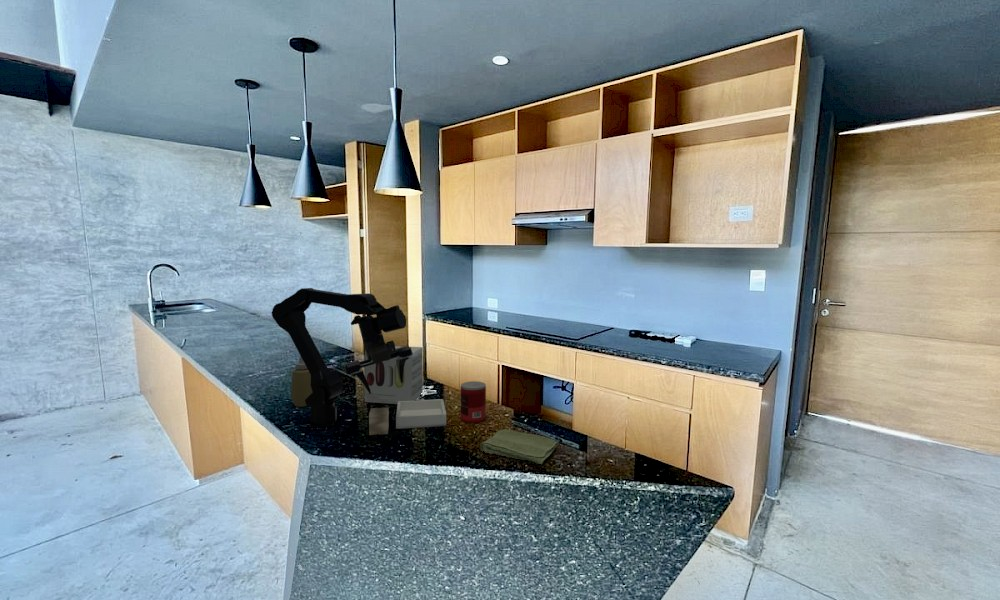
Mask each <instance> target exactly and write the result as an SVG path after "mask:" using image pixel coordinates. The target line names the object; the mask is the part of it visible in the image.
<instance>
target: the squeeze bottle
mask: <svg viewBox="0 0 1000 600" xmlns="http://www.w3.org/2000/svg"><path fill="white" fill-rule="evenodd" d="M291 376H292V377H291V386H290V397H291V400H292V403H293V405H294V407H297V408H303V407H307V405H306V402H305V399H306V398H307V397H308V396H309V395H310V394H311V393H312V389H311V375H310V373H309V371H308V369H307V367H306V365H305V363H304V361H303V359H302V358H301V356H299V360H298V362H296V363H295V369H294V370H293V371H292V375H291Z"/></svg>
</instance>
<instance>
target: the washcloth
mask: <svg viewBox="0 0 1000 600" xmlns="http://www.w3.org/2000/svg"><path fill="white" fill-rule="evenodd" d="M558 445H559V442H558V441H556V440H555V439H553V438H549V437H546V436H544V435H538V434H531V433H525V432H520V431H516V430H512V429H499V430H497V432H495V433H494V434H493V435H492V437H490V438H488V439H486V440H485V441H483V442H482V443H481V445H480V448H479V449H480V450H481V452H483V451H484V452H485V453H484V452H483V453H484V454H487V453H489V454H488V455H492V454H496V455H501V456H506V457H512V458H515V459H522V460H528V461H532V462H535V463H538V464H541V465H543V463H544V462H545V460H546V459H547V458H549V456H550V455H551V454H553V452H554V451H555V449H556V447H558ZM515 459H514V460H515Z"/></svg>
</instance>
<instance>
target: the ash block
mask: <svg viewBox="0 0 1000 600" xmlns="http://www.w3.org/2000/svg"><path fill="white" fill-rule="evenodd" d="M389 415H390V414H389V407H376V408H375V407H374V408H373V407H372V408H370V411H369V413H368V429H369V430H368V435H369V436H376V435H377V434H378V435H388V434H389V428H390V427H389V426H390V425H389V424H390V422H389V421H390V419H389V417H390V416H389Z"/></svg>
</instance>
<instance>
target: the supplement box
mask: <svg viewBox="0 0 1000 600" xmlns="http://www.w3.org/2000/svg"><path fill="white" fill-rule="evenodd" d="M400 347H404V346H401V345H400V346H399V345H395V348H396V349H397V348H400ZM409 347H410V348H411V350H412V354H413V355H411V356H407V357H409V359H408V360H406V362H405V365H404V371H403V383H401V382H400V379H399V374H398V369H397V364H396V359H397V357H396V358H392V359H390V360H387V361H382V362H380V363H377V364H372V365H369V366H366V367H364V375H365V378H366V380H367V383H368V385H369V388H370V391H371V394H369V392H368V391H367V389H366V388H365V387H364V402H365V403H374V404H375V403H378V404H388V405H392V404H393V405H398V401H415V400H416V399H417V398H418V397H419V396H420V395H421V393H422V392H423V386H424V385H423V380H424V379H423V377H424V375H423V351H424V349H423V347H422V346H409ZM364 360H368V358H367V355H366V351H364ZM371 361H372V360H371ZM421 396H422V395H421ZM421 396H420V397H421ZM420 397H419V398H420ZM419 398H418V399H419ZM418 399H417V400H418Z"/></svg>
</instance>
